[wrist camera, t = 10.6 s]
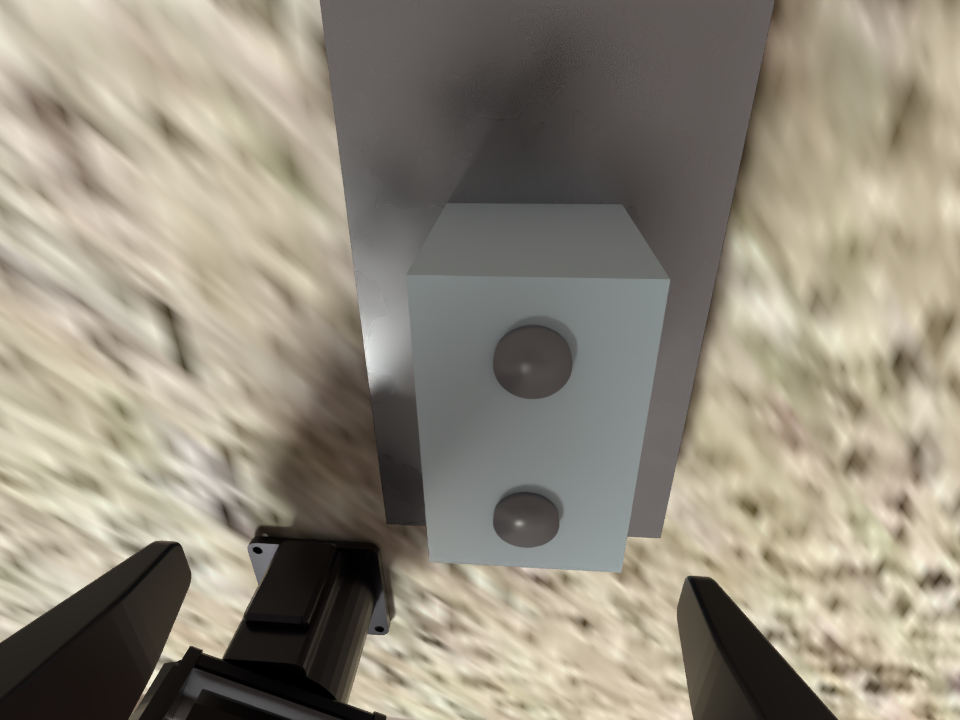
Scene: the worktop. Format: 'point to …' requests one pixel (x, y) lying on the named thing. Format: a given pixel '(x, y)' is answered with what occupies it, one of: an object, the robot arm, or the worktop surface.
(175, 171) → the worktop surface
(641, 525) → the stand
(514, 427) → the housing
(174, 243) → the worktop surface
